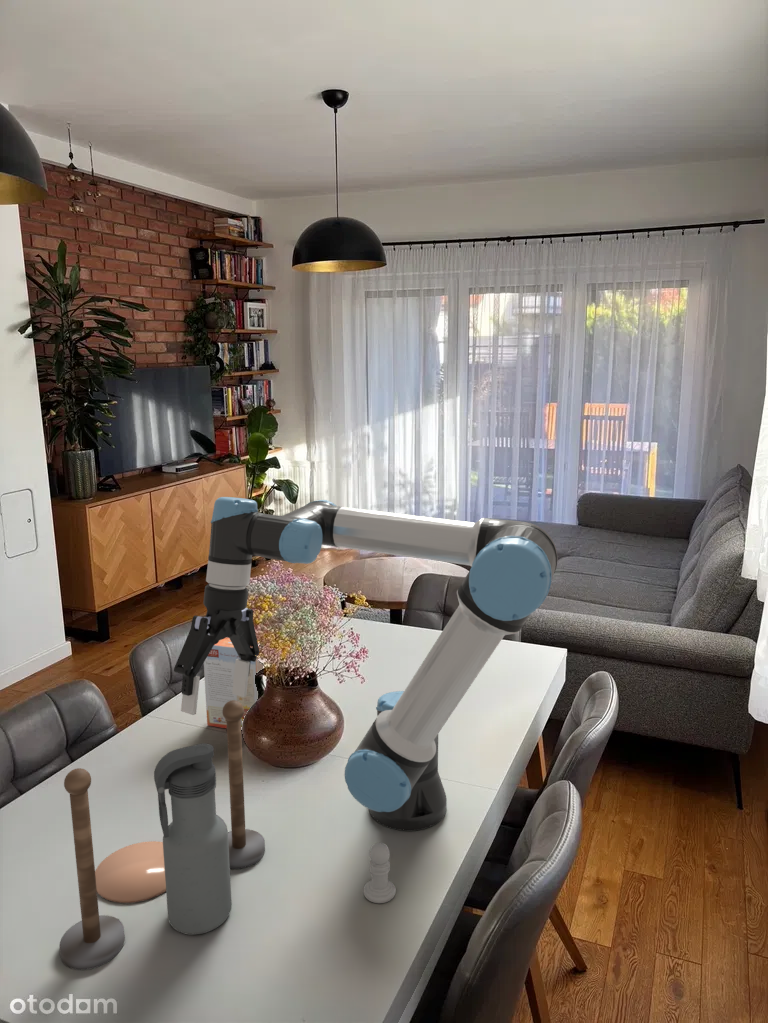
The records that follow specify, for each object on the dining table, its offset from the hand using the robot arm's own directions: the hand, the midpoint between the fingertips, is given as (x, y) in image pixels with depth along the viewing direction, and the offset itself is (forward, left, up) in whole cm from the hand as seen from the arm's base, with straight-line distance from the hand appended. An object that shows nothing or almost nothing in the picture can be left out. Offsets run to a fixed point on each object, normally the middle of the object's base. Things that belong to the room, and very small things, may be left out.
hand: (214, 703), depth 134 cm
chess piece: (-33, +2, -26) cm, 42 cm away
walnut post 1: (+1, +30, -26) cm, 40 cm away
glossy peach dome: (+7, +14, -26) cm, 30 cm away
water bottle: (-9, +18, -26) cm, 33 cm away
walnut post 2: (-6, +3, -26) cm, 27 cm away
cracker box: (+22, -37, -26) cm, 50 cm away
